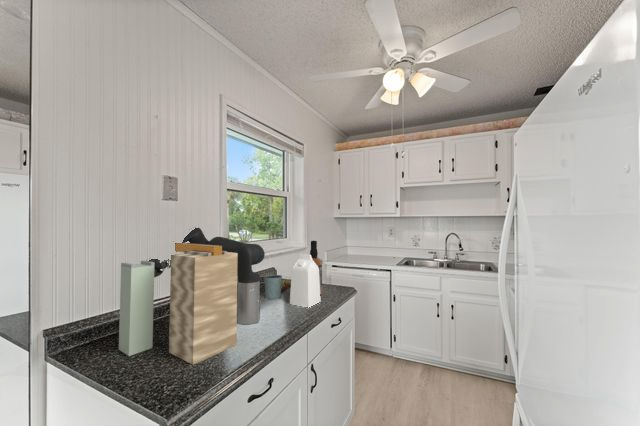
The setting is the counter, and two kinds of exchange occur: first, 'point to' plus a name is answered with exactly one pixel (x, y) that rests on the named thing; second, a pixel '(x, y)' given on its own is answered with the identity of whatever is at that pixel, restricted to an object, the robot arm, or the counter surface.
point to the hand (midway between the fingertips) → (168, 261)
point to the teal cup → (273, 286)
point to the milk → (305, 282)
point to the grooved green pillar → (136, 307)
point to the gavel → (286, 283)
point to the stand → (202, 304)
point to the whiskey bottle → (317, 261)
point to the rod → (199, 248)
